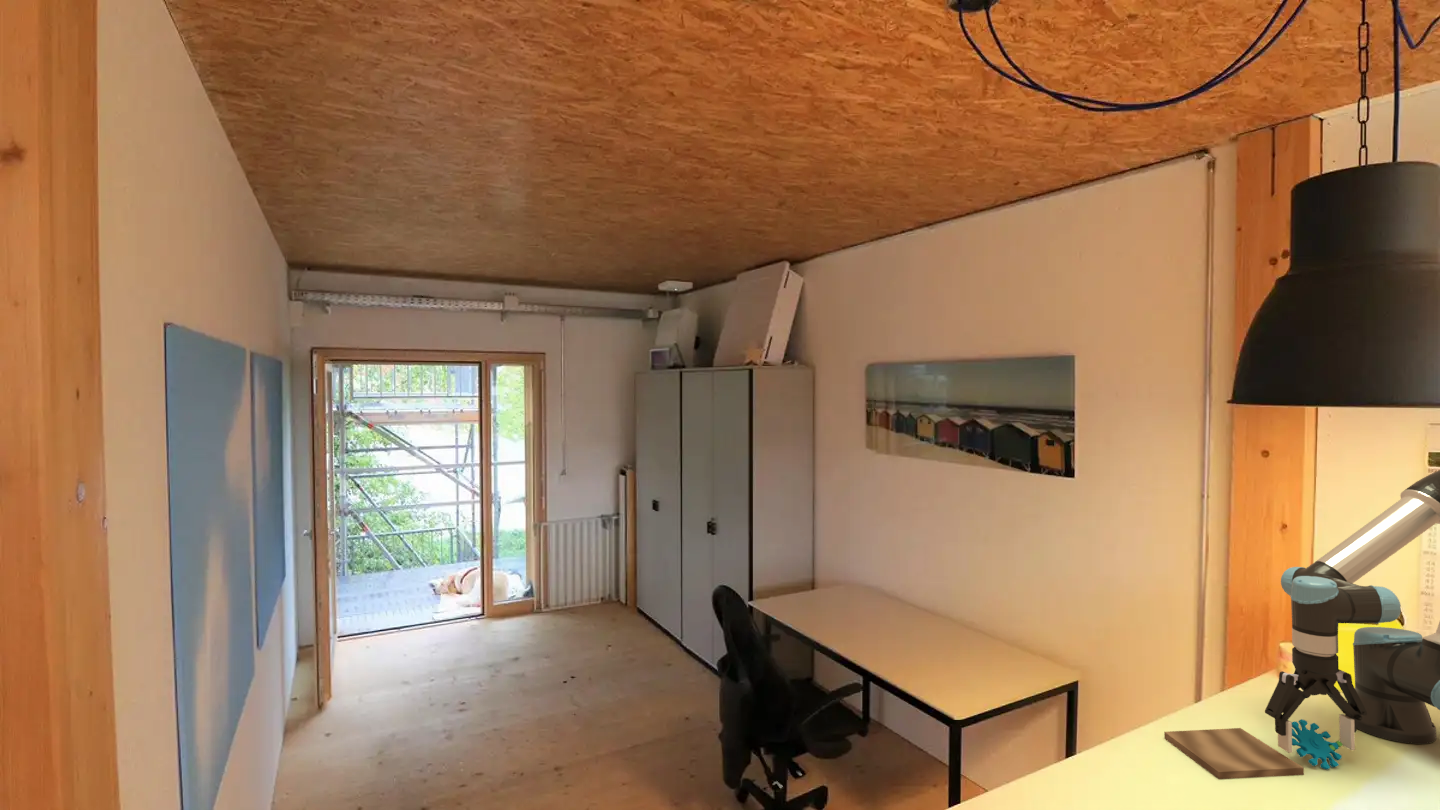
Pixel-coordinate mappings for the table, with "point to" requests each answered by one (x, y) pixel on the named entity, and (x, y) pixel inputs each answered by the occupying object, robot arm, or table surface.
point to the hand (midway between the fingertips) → (1316, 748)
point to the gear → (1315, 745)
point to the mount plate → (1233, 753)
